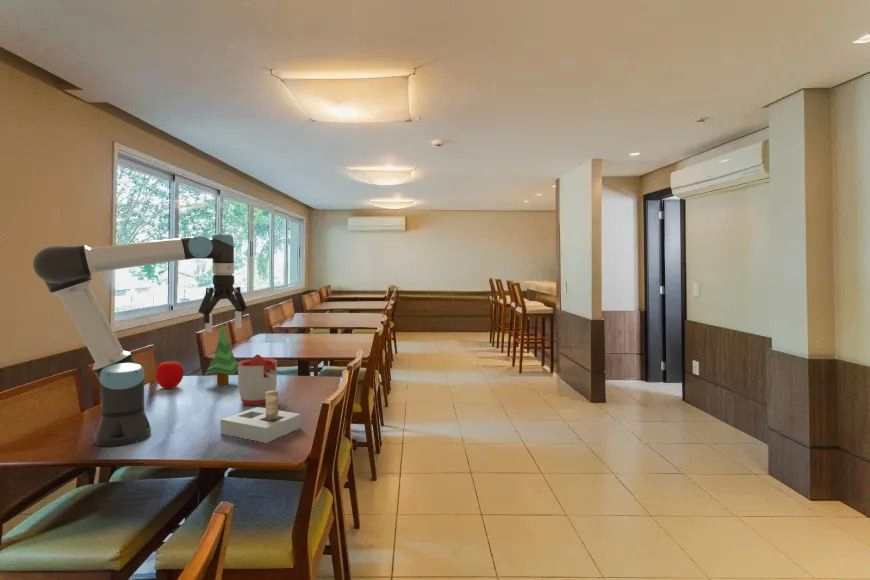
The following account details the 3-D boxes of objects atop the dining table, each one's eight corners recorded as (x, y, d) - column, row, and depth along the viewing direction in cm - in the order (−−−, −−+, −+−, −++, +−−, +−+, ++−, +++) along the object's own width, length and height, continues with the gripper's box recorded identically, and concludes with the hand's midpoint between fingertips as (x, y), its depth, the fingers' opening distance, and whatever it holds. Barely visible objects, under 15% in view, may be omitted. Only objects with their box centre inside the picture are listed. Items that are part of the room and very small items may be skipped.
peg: (272, 436, 152) (272, 394, 151) (262, 434, 154) (262, 392, 153) (281, 432, 156) (281, 391, 155) (271, 430, 157) (271, 389, 157)
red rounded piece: (149, 389, 210) (149, 361, 210) (169, 384, 221) (169, 357, 220) (169, 391, 207) (168, 363, 206) (188, 386, 217) (188, 359, 217)
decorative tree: (200, 388, 213) (199, 323, 212) (217, 380, 229) (216, 320, 228) (228, 389, 212) (228, 324, 211) (244, 381, 228) (243, 320, 227)
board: (266, 443, 145) (266, 428, 145) (220, 434, 153) (220, 419, 153) (300, 428, 160) (300, 414, 160) (257, 420, 168) (257, 406, 168)
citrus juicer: (258, 410, 180) (257, 359, 180) (229, 403, 189) (228, 355, 188) (288, 400, 194) (288, 353, 193) (260, 395, 202) (260, 349, 202)
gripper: (201, 274, 164) (202, 334, 165) (255, 274, 186) (256, 326, 187) (187, 274, 167) (188, 332, 168) (242, 274, 189) (242, 325, 190)
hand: (224, 329), depth 177 cm, fingers open, 13 cm apart
